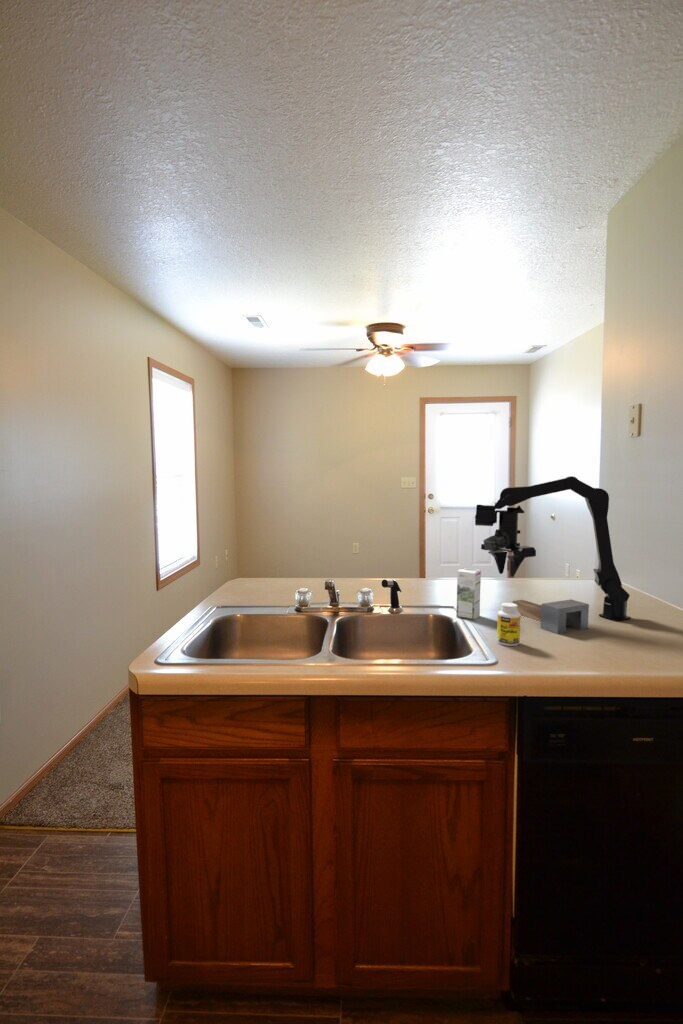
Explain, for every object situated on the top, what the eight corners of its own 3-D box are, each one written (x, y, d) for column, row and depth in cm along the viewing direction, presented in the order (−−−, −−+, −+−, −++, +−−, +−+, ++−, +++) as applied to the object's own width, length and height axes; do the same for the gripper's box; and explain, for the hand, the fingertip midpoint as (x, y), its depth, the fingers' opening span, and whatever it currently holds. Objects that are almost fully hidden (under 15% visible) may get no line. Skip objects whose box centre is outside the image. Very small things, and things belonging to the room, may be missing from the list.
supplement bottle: (496, 645, 134) (497, 606, 133) (497, 638, 139) (498, 600, 138) (519, 647, 132) (521, 608, 131) (519, 641, 138) (520, 602, 137)
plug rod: (521, 612, 166) (522, 599, 166) (563, 625, 152) (563, 612, 151) (512, 613, 164) (512, 600, 164) (553, 627, 150) (553, 613, 150)
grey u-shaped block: (570, 622, 154) (571, 599, 154) (587, 628, 149) (588, 604, 149) (540, 628, 149) (541, 603, 149) (557, 634, 144) (558, 608, 143)
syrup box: (480, 615, 161) (481, 569, 160) (474, 620, 156) (475, 572, 155) (462, 613, 164) (463, 567, 163) (455, 617, 159) (456, 570, 158)
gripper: (468, 524, 172) (467, 571, 173) (510, 531, 156) (508, 583, 157) (494, 523, 177) (493, 569, 178) (538, 529, 160) (536, 579, 162)
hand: (506, 575), depth 169 cm, fingers open, 5 cm apart
